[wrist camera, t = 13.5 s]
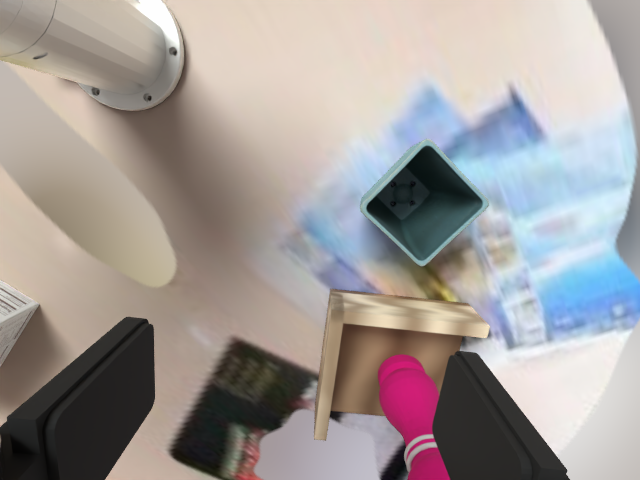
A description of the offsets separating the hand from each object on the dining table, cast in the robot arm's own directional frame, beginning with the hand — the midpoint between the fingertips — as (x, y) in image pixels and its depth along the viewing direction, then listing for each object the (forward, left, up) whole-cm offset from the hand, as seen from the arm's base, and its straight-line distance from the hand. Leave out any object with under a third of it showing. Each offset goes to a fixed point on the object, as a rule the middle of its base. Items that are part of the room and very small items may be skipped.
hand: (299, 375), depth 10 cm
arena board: (+12, -19, -30) cm, 38 cm away
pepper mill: (+14, -21, -30) cm, 39 cm away
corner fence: (+12, -19, -30) cm, 38 cm away
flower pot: (+10, +3, -31) cm, 32 cm away
